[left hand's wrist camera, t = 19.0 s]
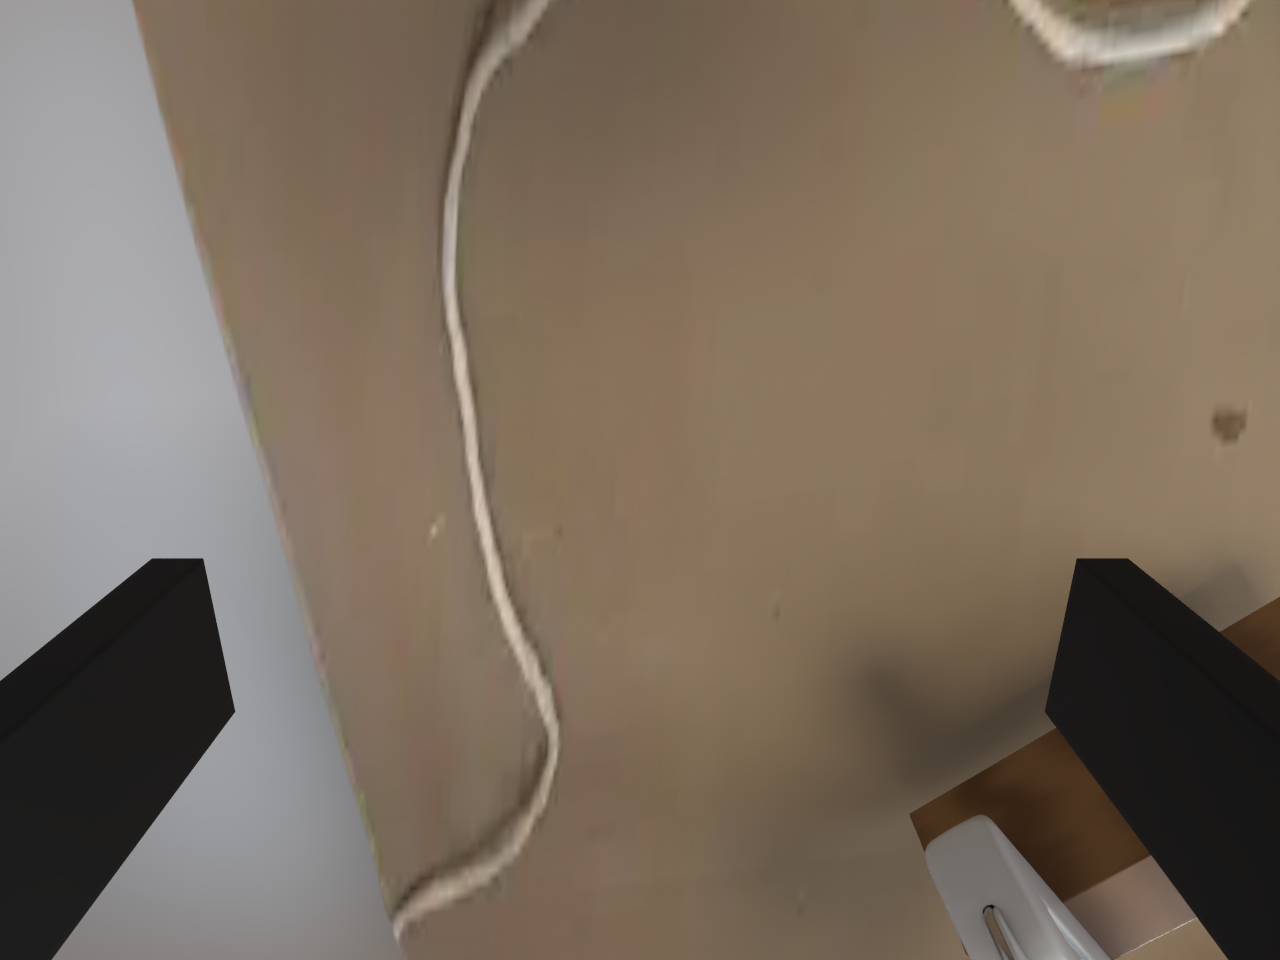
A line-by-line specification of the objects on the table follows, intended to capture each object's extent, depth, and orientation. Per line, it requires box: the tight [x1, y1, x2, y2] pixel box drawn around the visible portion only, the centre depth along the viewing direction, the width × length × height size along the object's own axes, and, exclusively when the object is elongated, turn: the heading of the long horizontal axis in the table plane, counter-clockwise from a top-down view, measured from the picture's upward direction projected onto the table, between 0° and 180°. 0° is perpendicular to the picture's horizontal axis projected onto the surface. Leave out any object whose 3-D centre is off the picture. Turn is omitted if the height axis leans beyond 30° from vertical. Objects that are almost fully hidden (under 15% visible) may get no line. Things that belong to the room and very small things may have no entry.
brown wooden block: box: [910, 597, 1280, 960], centre depth 44 cm, size 24×5×10 cm, turn 129°
